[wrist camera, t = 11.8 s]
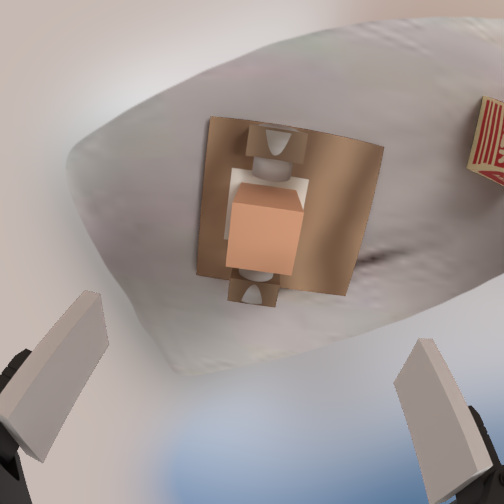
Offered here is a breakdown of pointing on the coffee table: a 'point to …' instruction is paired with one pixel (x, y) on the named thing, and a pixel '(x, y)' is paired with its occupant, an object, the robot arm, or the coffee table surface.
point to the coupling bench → (309, 192)
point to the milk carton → (489, 142)
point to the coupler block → (264, 229)
